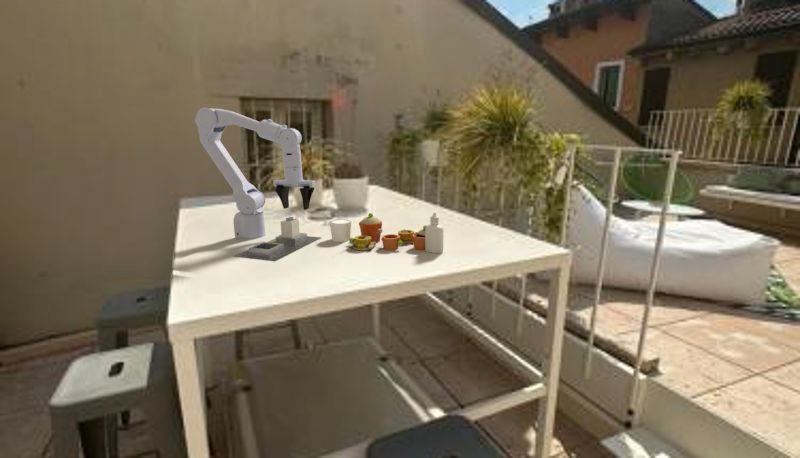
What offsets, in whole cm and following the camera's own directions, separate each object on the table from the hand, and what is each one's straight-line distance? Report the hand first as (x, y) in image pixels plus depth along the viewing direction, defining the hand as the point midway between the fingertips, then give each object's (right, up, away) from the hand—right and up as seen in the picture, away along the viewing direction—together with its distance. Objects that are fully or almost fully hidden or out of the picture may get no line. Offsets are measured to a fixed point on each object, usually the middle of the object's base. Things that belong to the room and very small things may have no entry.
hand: (296, 208), depth 140 cm
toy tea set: (+32, -12, -4) cm, 34 cm away
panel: (-2, -13, -9) cm, 16 cm away
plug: (-1, -11, -4) cm, 12 cm away
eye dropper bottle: (+44, -14, -12) cm, 48 cm away
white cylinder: (+15, -11, -2) cm, 19 cm away
